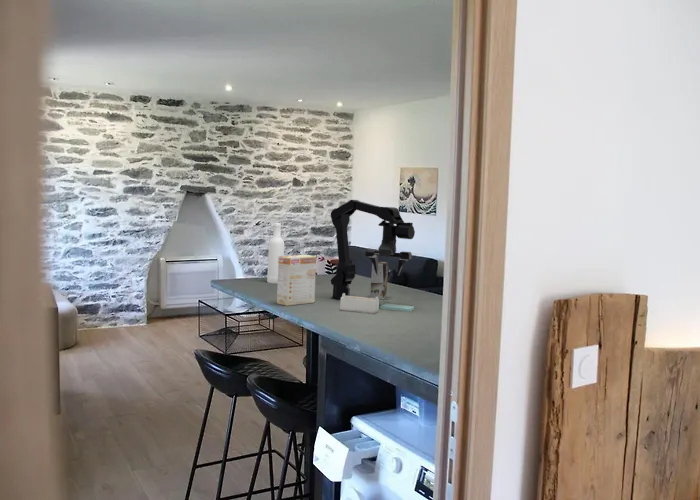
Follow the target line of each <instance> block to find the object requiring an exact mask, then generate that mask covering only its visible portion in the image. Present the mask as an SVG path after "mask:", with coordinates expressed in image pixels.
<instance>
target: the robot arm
mask: <svg viewBox="0 0 700 500" xmlns="http://www.w3.org/2000/svg"><path fill="white" fill-rule="evenodd" d="M356 211H359V212H364V213H366V214H370V215H374V216H375V217H378V218H379V219H381V222H379V224H377V225H378V227H382V239H381V244H380V245H379V247H378V249H377V248H376V249H375V248H367V249H366V250H365V251H364V253H365V254H364V256H365V257H367V259H370V261H371V264H372V263H373V265H374V269H375V272H376V274H377V273H378V262H379V257H387V258H389V257H391V258H392V257H393V258H399V259H398V266H397V273H396V274H397V275H396V276H397V277H398V276H399V277H400V274H401V271H402V268H403V266H404V265H405V263H406V262H408V261H409V260H412V258H413V257H412V255H413V254H412V252H411V251H403V250H402V251H399V252H397V246H396V245H397V239H403V240H412V239H414V236H415V232H416V231H415V227H414V226H413V224H414V223H413V222H404V221H405V220H403V218H402V216H401V214H400V210H399V209H398V208H397V207H393V206H380V205H375V204H373V203H367V202H365V201H361V200H358V199H350V200H348V201H347V202H346V203H343V204H342V205H339V206H338V207H337V208H336V207H335V208H333V209H332V210H331V212H330V218H331V223H332V225H333V226H334V227H333V228H335V235H336V236H335V237H336V247H337V248H336V249H337V257H338V263H337V264H336V265H337V266H336V268H335V275H334V276H333V277H331V279H330V282H331V285H332V286H333V287H332V297H331V299H334V300H336V299H337V300H341V297H342V294H343V293H345V296H351V293H350V292H351V288H350V285H351V284H352V282H353V280H354V279H355V277H356V274H357V272H356V264H355V263H353V264H352V262H351V259H350V250H349V249H350V248H349V236H348V227H349V224H350V217H351V216H352V215H353V214H354V213H355V212H356Z"/></svg>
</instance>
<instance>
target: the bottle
mask: <svg viewBox="0 0 700 500" xmlns="http://www.w3.org/2000/svg"><path fill="white" fill-rule="evenodd" d="M272 225H273V227H272V228H273V231H272V232H273V233H272V234H273V235H272V237H270V239H269V242H268V252H267V276H266V281H267V283H268V284H277V285H278V259H279V256H285V242H284V239H283V238H282V237H281V235H282V234H281V232H282V231H281V230H282V223H281V222H273V224H272Z"/></svg>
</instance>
